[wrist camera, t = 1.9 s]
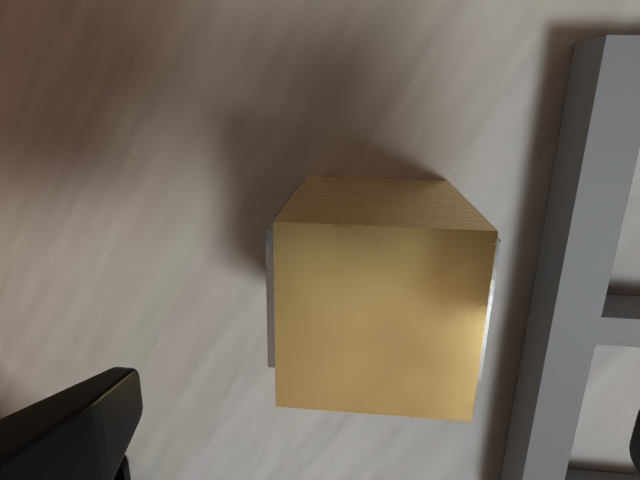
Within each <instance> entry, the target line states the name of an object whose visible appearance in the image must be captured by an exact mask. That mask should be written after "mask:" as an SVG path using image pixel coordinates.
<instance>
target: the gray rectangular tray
mask: <svg viewBox="0 0 640 480" xmlns="http://www.w3.org/2000/svg"><path fill="white" fill-rule="evenodd" d="M639 147H640V35H604V36H600V37H597V38H593V39H589V40H585V41H581V42H578V43H575V46H574V52H573V57H572V63H571V69H570V75H569V81H568V87H567V92H566V98H565V104H564V110H563V116H562V122H561V127H560V133H559V139H558V145H557V151H556V157H555V163H554V168H553V174H552V180H551V186H550V192H549V198H548V203H547V209H546V215H545V221H544V227H543V233H542V238H541V244H540V250H539V256H538V262H537V268H536V274H535V279H534V285H533V291H532V297H531V303H530V309H529V314H528V320H527V326H526V332H525V338H524V344H523V349H522V355H521V361H520V367H519V373H518V379H517V384H516V390H515V396H514V402H513V408H512V414H511V420H510V425H509V431H508V437H507V443H506V449H505V455H504V460H503V466H502V472H501V478H500V480H640V477H639V475H636V474H625V473H613V472H601V471H589V470H578V469H567V467H568V463H569V458H570V454H571V449H572V445H573V440H574V436H575V431H576V427H577V423H578V418H579V414H580V409H581V405H582V400H583V396H584V391H585V387H586V383H587V378H588V374H589V369H590V365H591V360H592V356H593V351H594V347H595V344H601V345H617V346H633V347H640V296H633V295H614V294H607V289H608V285H609V280H610V276H611V271H612V267H613V262H614V258H615V253H616V249H617V245H618V240H619V236H620V231H621V227H622V222H623V218H624V213H625V209H626V205H627V200H628V196H629V191H630V187H631V182H632V178H633V173H634V169H635V165H636V160H637V156H638V151H639Z"/></svg>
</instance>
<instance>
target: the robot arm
mask: <svg viewBox="0 0 640 480" xmlns="http://www.w3.org/2000/svg"><path fill="white" fill-rule="evenodd" d="M142 409H143V404H142V395H141V386H140V378H139V373H138V371H137V370H136V369H134V368H124V367H114V368H111V369H109V370H107V371H105V372H102V373H100V374H98V375H96V376H94V377H91V378H89V379H87V380H85V381H83V382H81V383H78V384H76V385H74V386H72V387H70V388H67V389H65V390H63V391H61V392H59V393H56V394H54V395H52V396H50V397H48V398H45V399H43V400H41V401H39V402H37V403H34V404H32V405H30V406H28V407H26V408H24V409H21V410H19V411H17V412H15V413H13V414H10V415H8V416H6V417H4V418H2V419H0V480H130V475H129V468H128V463H127V461H126V460H125V459H124V458H123V457H124V454H125V452H126V450H127V448H128V445H129V443H130V441H131V439H132V436H133V434H134V432H135V430H136V427H137V425H138V423H139V421H140V418H141V415H142ZM629 450H630V456H631V459H632V462H633V464H634V466H635V468H636V470H637V473H638V475H639V477H640V410H639V412H638V415H637V418H636V422H635V426H634V429H633V433H632V437H631V440H630V448H629Z"/></svg>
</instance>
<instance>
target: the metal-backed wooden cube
mask: <svg viewBox="0 0 640 480" xmlns="http://www.w3.org/2000/svg"><path fill="white" fill-rule="evenodd" d="M265 235H266V285H267V336H268V367H275V391H276V406H280V407H293V408H305V409H318V410H331V411H344V412H357V413H370V414H383V415H396V416H409V417H422V418H435V419H448V420H461V421H472V413H473V406H474V399H475V392H476V385H477V382H481V375H482V368H483V361H484V354H485V347H486V340H487V334H488V327H489V320H490V313H491V306H492V299H493V292H494V285H495V278H496V271H497V264H498V257H499V250H500V243H501V240H500V239H499V238H498V237H497V235H498V230H497V229H496V228H495V227H494V226H493V225H492V224H491V223H490V222H489V221H488V220H487V219H486V218H485V217H484V216H483V215H482V214H481V213H480V212H479V211H478V210H477V209H476V208H475V207H474V206H473V205H472V204H471V203H470V202H469V201H468V200H467V199H466V198H465V197H464V196H463V195H462V194H461V193H460V192H459V191H458V190H457V189H456V188H455V187H454V186H453V185H452V184H451V183H450V182H449V181H448V180H425V179H394V178H364V177H334V176H307V177H306V178H305V180H304V181H303V182H302V184H301V185H300V186H299V188H298V189H297V190H296V191H295V192H294V193H293V194H292V195H291V197H290V198H289V199H288V201H287V202H286V203H285V205H284V206H283V207H282V209H281V210H280V211H279V213H278V214H277V215H276V217H275V218H274V219H273V220H272V222H271V223H270V224H269V226H268V227H267V228H266V230H265Z"/></svg>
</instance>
